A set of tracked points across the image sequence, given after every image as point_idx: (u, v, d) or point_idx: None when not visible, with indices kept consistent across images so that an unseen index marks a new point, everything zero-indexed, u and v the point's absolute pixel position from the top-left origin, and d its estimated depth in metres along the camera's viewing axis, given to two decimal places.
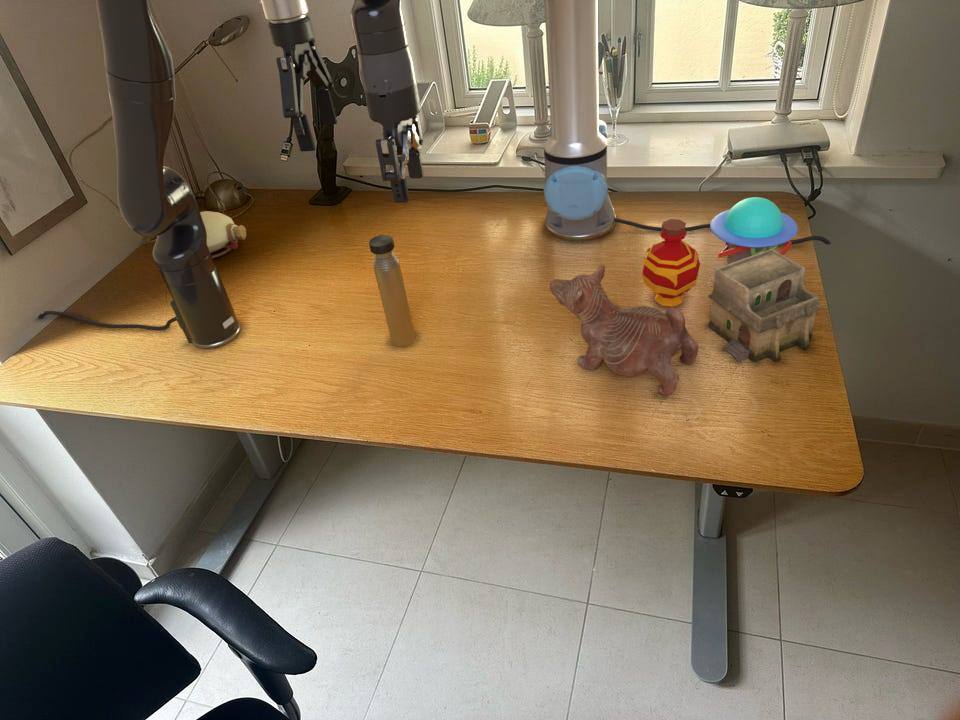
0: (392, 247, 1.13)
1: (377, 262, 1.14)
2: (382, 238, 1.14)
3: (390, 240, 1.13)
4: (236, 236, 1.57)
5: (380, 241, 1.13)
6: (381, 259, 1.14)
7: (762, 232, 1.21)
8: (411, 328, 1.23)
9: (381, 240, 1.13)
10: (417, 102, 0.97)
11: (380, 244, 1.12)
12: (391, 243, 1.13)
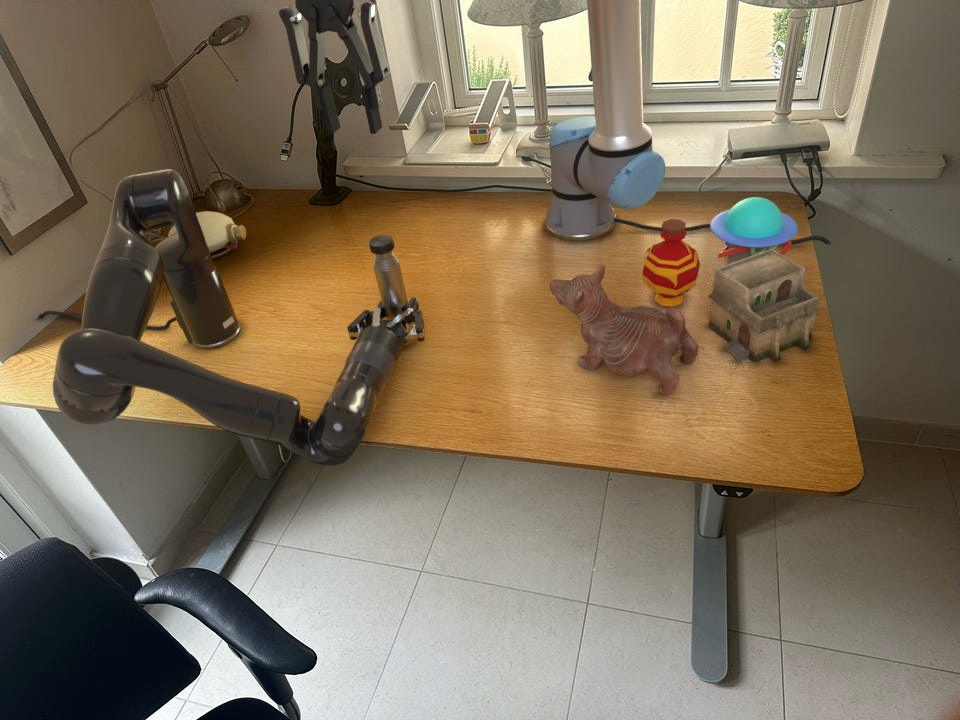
0: (392, 247, 1.13)
1: (377, 262, 1.14)
2: (382, 238, 1.14)
3: (390, 240, 1.13)
4: (236, 236, 1.57)
5: (380, 241, 1.13)
6: (381, 259, 1.14)
7: (762, 232, 1.21)
8: (411, 328, 1.23)
9: (381, 240, 1.13)
10: (374, 331, 1.11)
11: (380, 244, 1.12)
12: (391, 243, 1.13)
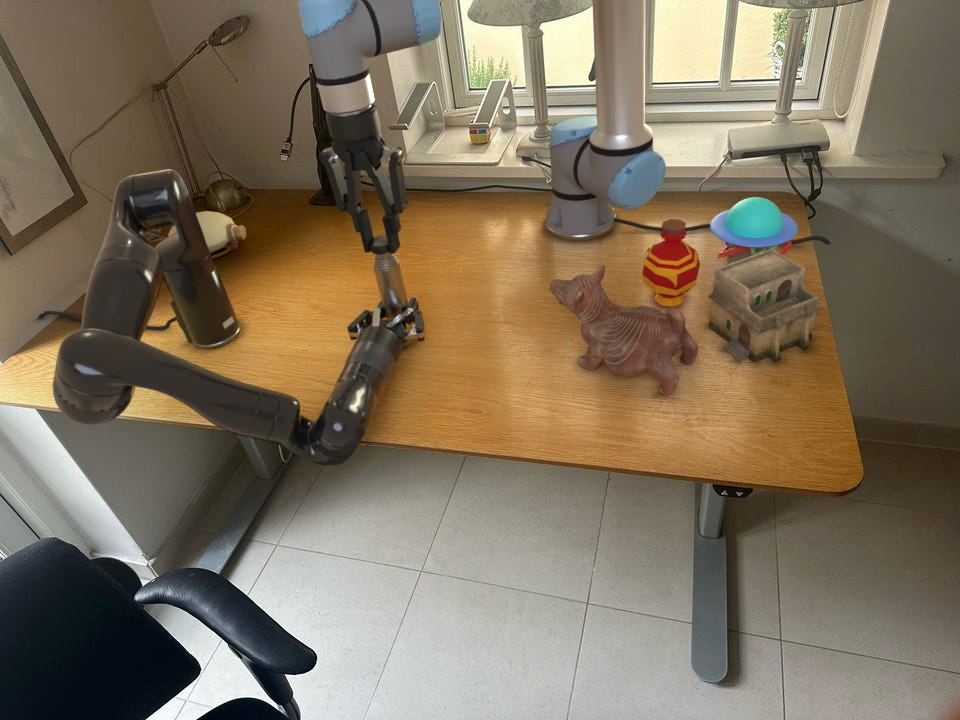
0: None
1: (377, 262, 1.14)
2: (382, 238, 1.14)
3: None
4: (236, 236, 1.57)
5: (380, 241, 1.13)
6: (381, 259, 1.14)
7: (762, 232, 1.21)
8: (411, 328, 1.23)
9: (381, 240, 1.13)
10: (374, 331, 1.11)
11: (380, 244, 1.12)
12: None
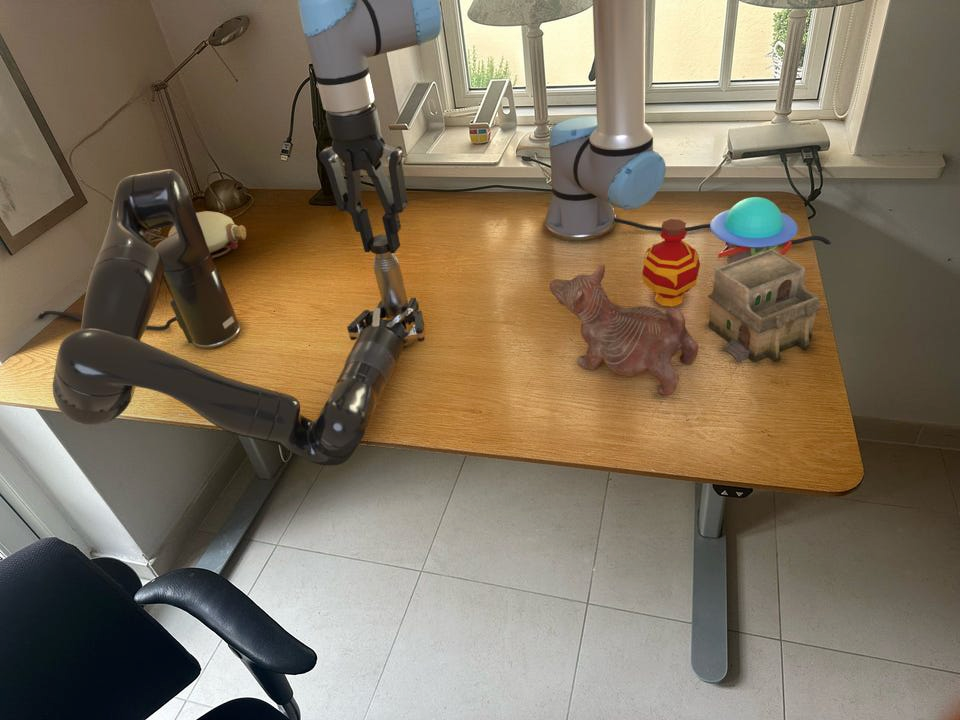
0: None
1: (377, 262, 1.14)
2: (375, 241, 1.13)
3: (379, 235, 1.14)
4: (236, 236, 1.57)
5: (382, 239, 1.13)
6: (381, 259, 1.14)
7: (762, 232, 1.21)
8: (411, 328, 1.23)
9: (380, 239, 1.13)
10: (374, 331, 1.11)
11: None
12: None
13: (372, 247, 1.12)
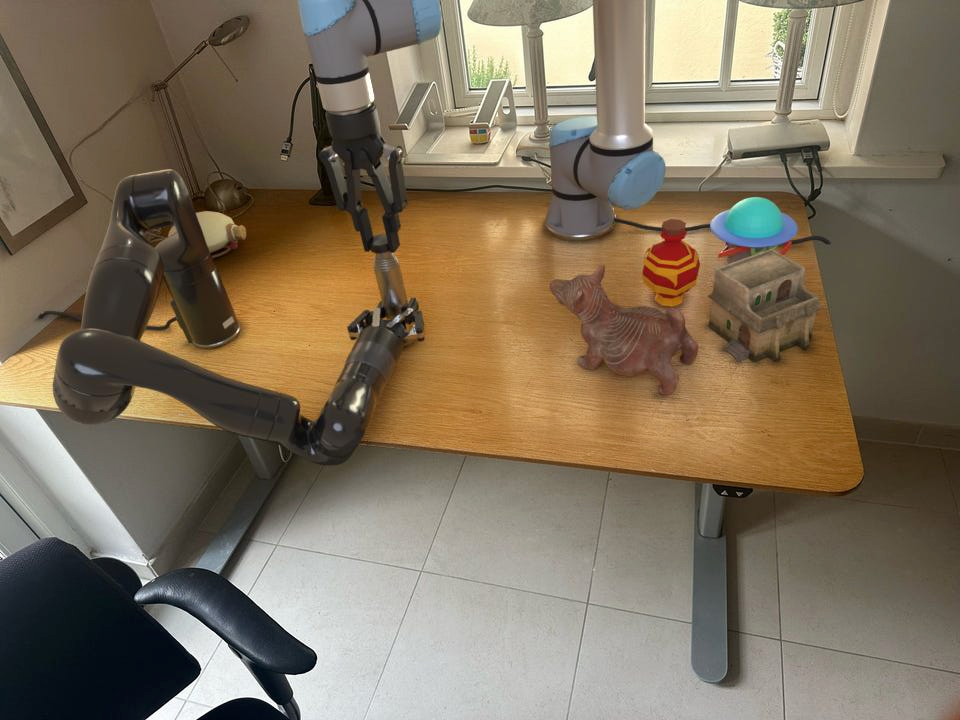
0: (370, 249, 1.13)
1: (377, 262, 1.14)
2: (382, 241, 1.12)
3: (371, 243, 1.12)
4: (236, 236, 1.57)
5: (379, 239, 1.13)
6: (381, 259, 1.14)
7: (762, 232, 1.21)
8: (411, 328, 1.23)
9: (380, 239, 1.13)
10: (374, 331, 1.11)
11: (375, 237, 1.14)
12: (369, 244, 1.13)
13: None
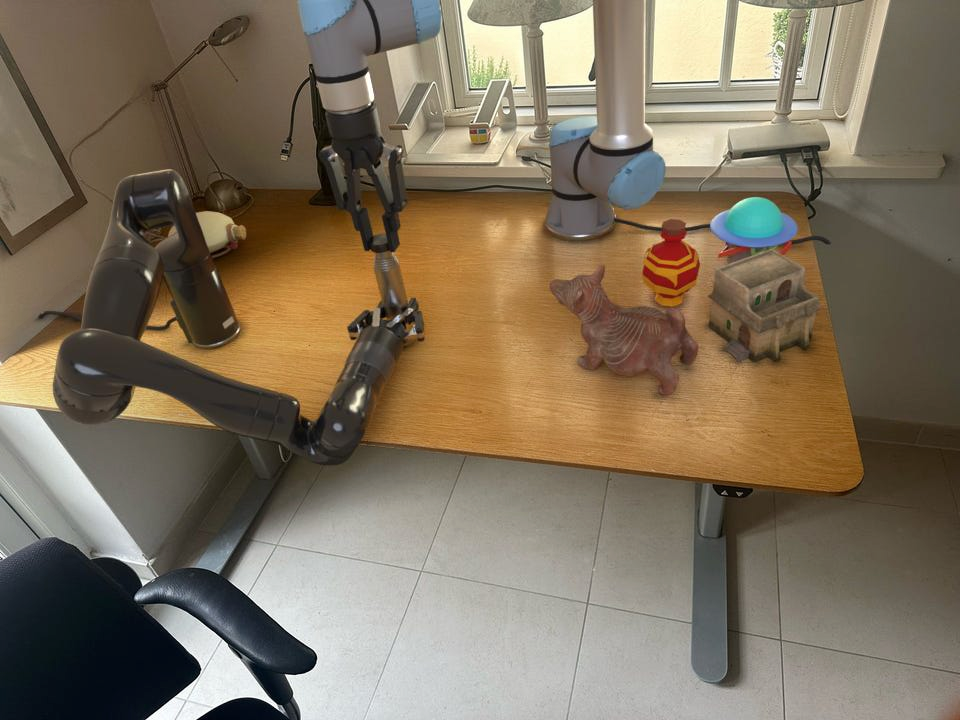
0: None
1: (377, 262, 1.14)
2: (383, 236, 1.13)
3: None
4: (236, 236, 1.57)
5: (379, 239, 1.13)
6: (381, 259, 1.14)
7: (762, 232, 1.21)
8: (411, 328, 1.23)
9: (381, 239, 1.13)
10: (374, 331, 1.11)
11: (377, 243, 1.12)
12: None
13: None
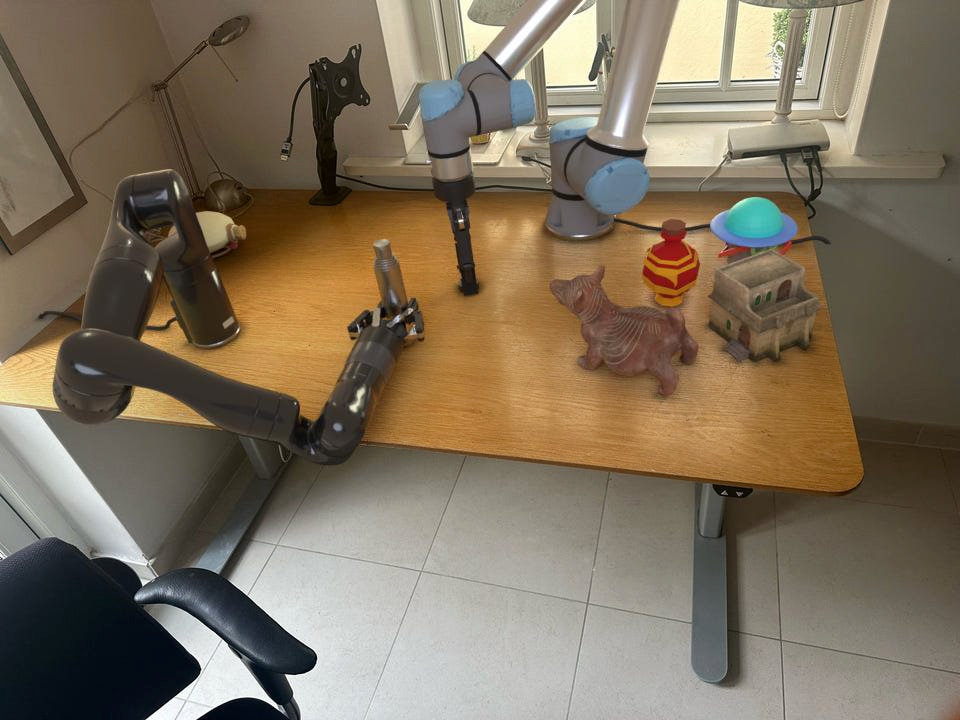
0: None
1: (377, 262, 1.14)
2: None
3: None
4: (236, 236, 1.57)
5: None
6: (381, 259, 1.14)
7: (762, 232, 1.21)
8: (411, 328, 1.23)
9: None
10: (374, 331, 1.11)
11: None
12: None
13: (459, 287, 1.35)
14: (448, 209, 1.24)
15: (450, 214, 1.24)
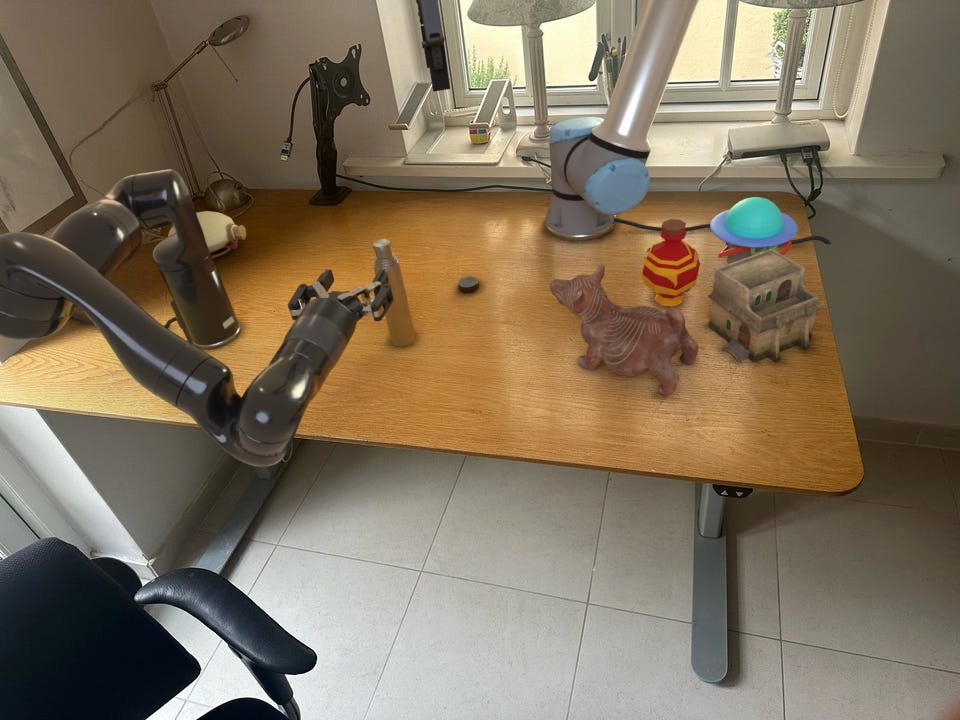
0: None
1: (377, 262, 1.14)
2: (464, 281, 1.36)
3: (469, 277, 1.37)
4: (236, 236, 1.57)
5: (469, 281, 1.36)
6: (381, 259, 1.14)
7: (762, 232, 1.21)
8: (411, 328, 1.23)
9: (467, 281, 1.36)
10: (320, 303, 0.91)
11: (474, 280, 1.36)
12: None
13: (459, 287, 1.35)
14: None
15: None
